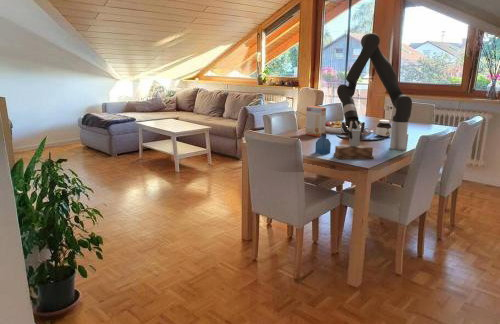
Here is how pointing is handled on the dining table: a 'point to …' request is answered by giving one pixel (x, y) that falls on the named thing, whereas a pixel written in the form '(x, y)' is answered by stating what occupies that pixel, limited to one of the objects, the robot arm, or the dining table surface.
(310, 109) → the cracker box
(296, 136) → the dining table surface
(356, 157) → the stand
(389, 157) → the dining table surface
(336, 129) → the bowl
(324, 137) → the perfume bottle
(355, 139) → the slate peg
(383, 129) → the spread jar
